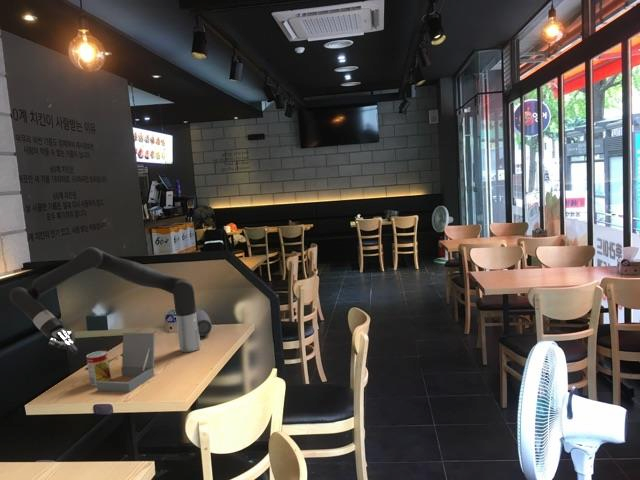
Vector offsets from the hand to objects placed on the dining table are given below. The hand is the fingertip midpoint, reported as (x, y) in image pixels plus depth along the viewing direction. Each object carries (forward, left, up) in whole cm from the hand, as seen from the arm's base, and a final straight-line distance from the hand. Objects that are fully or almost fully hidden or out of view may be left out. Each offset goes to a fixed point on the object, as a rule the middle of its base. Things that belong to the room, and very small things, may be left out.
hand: (75, 352), depth 217 cm
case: (-22, +8, -13) cm, 26 cm away
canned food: (-9, +4, -13) cm, 16 cm away
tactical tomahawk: (-7, -21, -13) cm, 26 cm away
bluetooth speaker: (-46, -51, -13) cm, 70 cm away
